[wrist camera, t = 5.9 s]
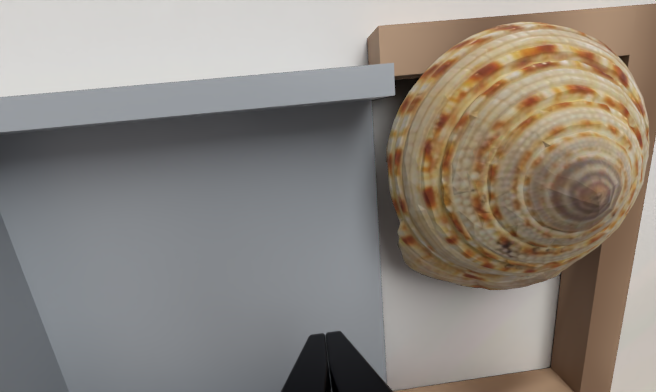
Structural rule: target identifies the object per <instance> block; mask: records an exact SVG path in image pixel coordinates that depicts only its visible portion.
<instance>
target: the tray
mask: <svg viewBox="0 0 656 392" xmlns="http://www.w3.org/2000/svg"><path fill="white" fill-rule="evenodd" d="M389 96H395V78H394V63H386V64H374V65H363V66H352V67H340V68H329V69H317V70H306V71H294V72H283V73H271V74H260V75H249V76H237V77H226V78H214V79H203V80H191V81H180V82H169V83H157V84H146V85H134V86H123V87H111V88H100V89H88V90H77V91H66V92H54V93H43V94H31V95H20V96H8V97H0V392H281V390H282V388H283V386H284V384H285V382H286V380H287V378H288V376H289V374H290V372H291V370H292V368H293V366H294V364H295V362H296V360H297V358H298V356H299V354H300V352H301V350H302V349H303V347H304V345H305V343H306V341H307V339H308V337H309V336H310V335H311V334H318V333H324V334H325V337H326V333H327V332H333V331H341V332H342V333H343V334H344V335H345V336H346V337H347V339H348V340H349V341H350V342H351V343H352V344H353V346H354V347H355V348H356V349H357V350H358V351H359V353H360V354H361V355H362V356H363V357H364V358H365V359H366V361H367V362H368V363H369V364H370V365H371V366H372V368H373V369H374V370H375V371H376V372H377V373H378V375H379V376H380V377H381V378H382V379H383V380H384V382H385V383H386V384H387V377H386V358H385V340H384V321H383V302H382V283H381V264H380V245H379V227H378V208H377V189H376V170H375V151H374V132H373V114H372V100H374V99H379V98H384V97H389ZM326 346H327V345H326ZM327 355H328V353H327ZM328 364H329V362H328ZM329 373H330V371H329ZM330 382H331V380H330ZM331 390H332V389H331Z"/></svg>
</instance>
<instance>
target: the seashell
mask: <svg viewBox="0 0 656 392" xmlns="http://www.w3.org/2000/svg"><path fill="white" fill-rule="evenodd" d="M649 143H650V141H649V120H648V115H647V111H646V107H645V103H644V99H643V96H642V94H641V92H640V90H639V88H638V86H637V84H636V82H635V80H634V78H633V76H632V74H631V72H630V71H629V69H628V67H627V66H626V64H625V63H624V62H623V61H622V60H621V59H620V58H619V57H618V56H617V55H616V54H615V53H614V52H613V51H612V50H611V49H610V48H609V47H608V46H607V45H605V44H604V43H603V42H601V41H599V40H597V39H595V38H593V37H591V36H589V35H587V34H585V33H582V32H580V31H577V30H574V29H571V28H568V27H563V26H558V25H553V24H547V23H541V22H516V23H510V24H504V25H500V26H496V27H493V28H490V29H487V30H484V31H482V32H479V33H477V34H475V35H472V36H470V37H469V38H467V39H465V40H463V41H462V42H460V43H458V44H456V45H455V46H453V47H452V48H451V49H449V50H448V51H447V52H445V53H444V54H443V55H442V56H441V57H439V58H438V59H437V60H436V61H435V62H434V63H433V64H432V65H431V66H430V67H429V68H428V69H427V70H426V71H425V72H424V74H423V75H422V76H421V77H420V78H419V80H418V81H417V82H416V84H415V85H414V86H413V87H412V89H411V90H410V91H409V93H408V94H407V96H406V97H405V99H404V101H403V102H402V104H401V106H400V108H399V110H398V112H397V115H396V117H395V119H394V122H393V125H392V128H391V132H390V136H389V139H388V144H387V149H386V162H387V163H388V180H389V189H390V194H391V198H392V202H393V205H394V208H395V210H396V213H397V216H398V218H399V221H400V226H399V229H398V231H397V233H398V236H399V241H398V247H399V248H400V250H401V252H402V257H403V260H404V262H405V263H406V264H407V265H408V266H409V267H410V268H411V269H413V270H415V271H416V272H418V273H420V274H422V275H425V276H428V277H432V278H435V279H439V280H443V281H448V282H452V283H456V284H458V285H461V286H467V287H474V288H485V289H488V290H506V289H513V288H520V287H525V286H529V285H532V284H535V283H539V282H543V281H546V280H548V279H551V278H553V277H556V276H558V275H559V274H560V273H561V272H562V271H563V270H565V269H567V268H568V267H569V266H571V265H572V264H573V263H575V262H576V261H578V260H580V259H582V258H583V257H584V256H586V255H587V254H588V253H590V252H591V251H593V250H594V249H596V248H597V247H598V246H599V245H600V244H602V243H603V242H604V241H605V240H606V239H607V238H608V237H610V236H611V234H612V233H613V232H614V231H615V230H617V229H618V228H619V227H620V225H621V223H622V222H623V220H624V219H625V217H626V216H627V214H628V213H629V211H630V209H631V208H632V206H633V205H634V203H635V201H636V198H637V196H638V194H639V192H640V189H641V187H642V185H643V182H644V176H645V171H646V165H647V161H648V157H649Z"/></svg>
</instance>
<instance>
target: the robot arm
mask: <svg viewBox="0 0 656 392" xmlns="http://www.w3.org/2000/svg"><path fill="white" fill-rule="evenodd" d="M326 345H327V346H326ZM327 353H328V355H327ZM328 362H329V364H328ZM329 371H330V373H329ZM330 380H331V382H330ZM331 389H332V390H331ZM281 392H393V391H392V390H391V389H390V387H389V386H388V385H387V384H386V383H385V382H384V380H383V379H382V378H381V377H380V376H379V375H378V373H377V372H376V371H375V370H374V369H373V368H372V366H371V365H370V364H369V363H368V362H367V361H366V359H365V358H364V357H363V356H362V355H361V354H360V353H359V351H358V350H357V349H356V348H355V347H354V346H353V344H352V343H351V342H350V341H349V340H348V339H347V337H346V336H345V335H344V334H343V333H342V332H341V331H333V332H327V333H326V337H325V334H324V333H318V334H311V335H310V336H309V337H308V339H307V341H306V343H305V345H304V347H303V349H302V350H301V352H300V354H299V356H298V358H297V360H296V362H295V364H294V366H293V368H292V370H291V372H290V374H289V376H288V378H287V380H286V382H285V384H284V386H283V388H282V390H281Z"/></svg>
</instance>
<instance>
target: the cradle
mask: <svg viewBox="0 0 656 392" xmlns="http://www.w3.org/2000/svg"><path fill="white" fill-rule="evenodd" d="M516 22H541V23H547V24H553V25H558V26H563V27H568V28H571V29H574V30H577V31H580V32H582V33H585V34H587V35H589V36H591V37H593V38H595V39H597V40H599V41H601V42H603V43H604V44H605V45H607V46H608V47H609V48H610V49H611V50H612V51H613V52H614V53H615V54H616V55H617V56H618V57H619V58H620V59H621V60H622V61H623V62H624V63H625V64H626V66H627V67H628V69H629V71H630V72H631V74H632V76H633V78H634V80H635V82H636V84H637V86H638V88H639V90H640V92H641V94H642V96H643V99H644V103H645V107H646V111H647V115H648V120H649V141H650V143H649V157H648V161H647V165H646V171H645V176H644V182H643V185H642V187H641V189H640V192H639V194H638V196H637V198H636V201H635V203H634V205H633V206H632V208H631V209H630V211H629V213H628V214H627V216H626V217H625V219H624V220H623V222H622V223H621V225H620V227H619V228H618V229H617V230H615V231H614V232H613V233H612V234H611V236H610V237H608V238H607V239H606V240H605V241H604V242H603V243H602V244H600V245H599V246H598V247H597V248H596V249H594V250H593V251H591V252H590V253H588V254H587V255H586V256H584V257H583V258H582V259H580V260H578V261H576V262H575V263H573V264H572V265H571V266H569V267H568V268H567V269H565V270H563V271H562V272H561V281H560V290H559V299H558V307H557V316H556V325H555V334H554V343H553V351H552V360H551V368H545V369H539V370H532V371H525V372H519V373H512V374H505V375H499V376H492V377H485V378H479V379H472V380H465V381H459V382H452V383H445V384H439V385H432V386H425V387H418V388H412V389H405V390H398V391H393V392H610V389H611V384H612V378H613V372H614V367H615V361H616V356H617V350H618V344H619V339H620V333H621V328H622V322H623V316H624V311H625V305H626V300H627V294H628V288H629V283H630V277H631V272H632V266H633V260H634V255H635V249H636V244H637V238H638V232H639V227H640V221H641V216H642V210H643V204H644V199H645V193H646V188H647V182H648V176H649V171H650V165H651V160H652V154H653V148H654V143H655V137H656V4H645V5H633V6H621V7H608V8H596V9H583V10H571V11H558V12H546V13H533V14H521V15H508V16H496V17H483V18H471V19H458V20H446V21H433V22H421V23H409V24H396V25H384V26H378V27H377V28H376V29H375V30H374V32H373V33H372V34H371V35H370V36H369V37H368V38H367V44H368V63H369V65H374V64H386V63H394V78H395V80H400V79H411V78H420V77H421V76H422V75H423V74H424V72H425V71H426V70H427V69H428V68H429V67H430V66H431V65H432V64H433V63H434V62H435V61H436V60H437V59H438V58H439V57H441V56H442V55H443V54H444V53H445V52H447V51H448V50H449V49H451V48H452V47H453V46H455V45H456V44H458V43H460V42H462V41H463V40H465V39H467V38H469V37H470V36H472V35H475V34H477V33H479V32H482V31H484V30H487V29H490V28H493V27H496V26H500V25H504V24H510V23H516Z"/></svg>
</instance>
